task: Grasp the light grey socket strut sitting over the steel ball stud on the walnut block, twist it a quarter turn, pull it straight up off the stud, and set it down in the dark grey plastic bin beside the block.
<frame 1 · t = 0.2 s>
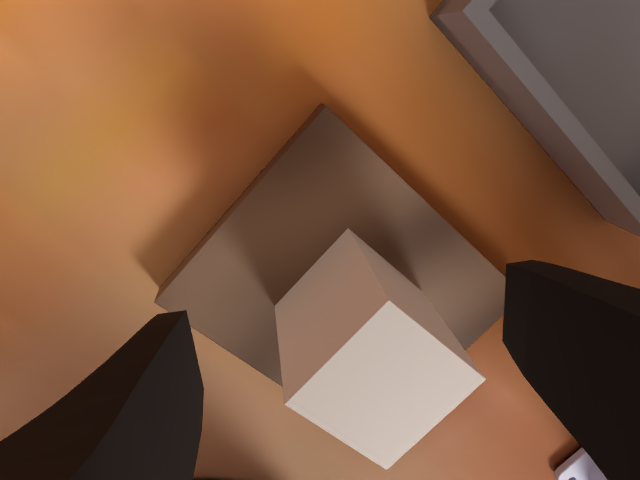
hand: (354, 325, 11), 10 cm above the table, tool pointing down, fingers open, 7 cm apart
socket strut: (349, 298, 20), point 1 cm above the table, touching stud block
stud block: (344, 285, 21), on the table
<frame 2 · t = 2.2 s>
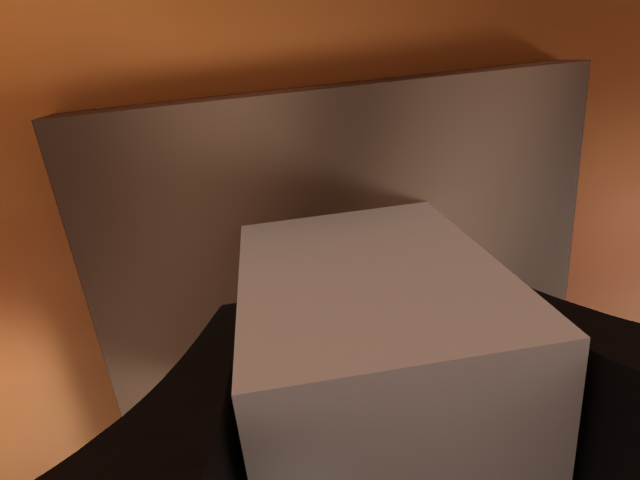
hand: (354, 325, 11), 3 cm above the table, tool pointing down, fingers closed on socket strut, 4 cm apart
socket strut: (343, 296, 12), point 1 cm above the table, touching gripper, stud block
stud block: (335, 276, 13), on the table
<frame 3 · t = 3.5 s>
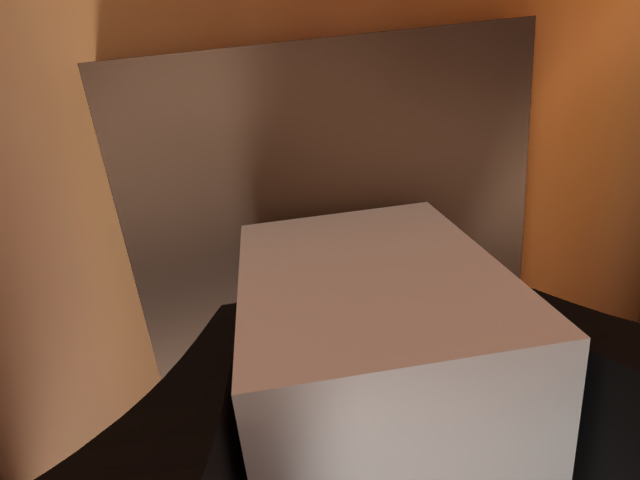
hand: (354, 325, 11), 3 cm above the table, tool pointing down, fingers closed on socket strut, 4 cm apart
socket strut: (342, 296, 12), point 2 cm above the table, touching gripper
stud block: (332, 267, 14), on the table
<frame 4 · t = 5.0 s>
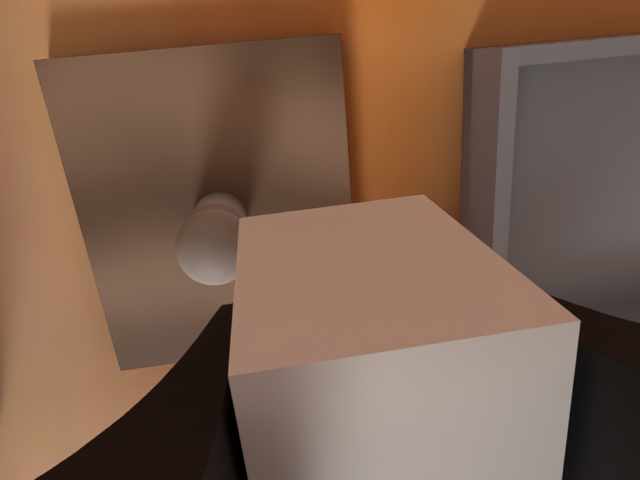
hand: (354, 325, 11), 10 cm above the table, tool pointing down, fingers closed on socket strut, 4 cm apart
bin: (595, 186, 21), on the table
socket strut: (340, 289, 12), point 8 cm above the table, touching gripper
stud block: (222, 208, 19), on the table
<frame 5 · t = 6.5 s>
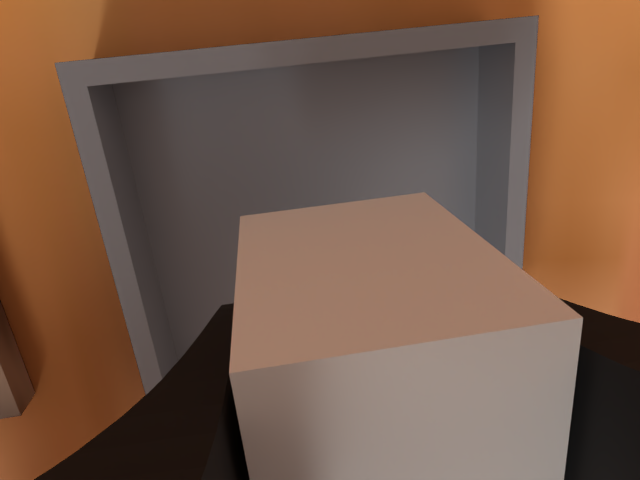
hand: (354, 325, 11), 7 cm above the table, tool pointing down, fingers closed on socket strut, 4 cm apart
bin: (315, 227, 17), on the table
socket strut: (341, 287, 12), point 5 cm above the table, touching gripper
when the fingers open (4 cm above the table, at t = 7.8 s): socket strut drops 2 cm, resting on bin.
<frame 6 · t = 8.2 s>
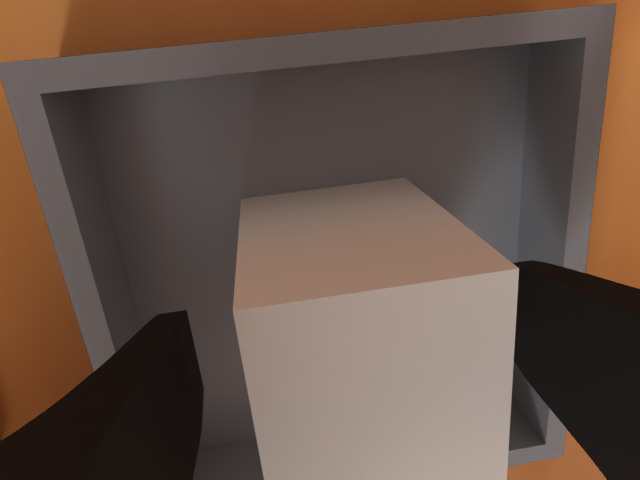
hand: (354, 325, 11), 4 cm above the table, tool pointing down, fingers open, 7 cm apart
bin: (328, 258, 14), on the table
socket strut: (331, 263, 14), point 1 cm above the table, touching bin
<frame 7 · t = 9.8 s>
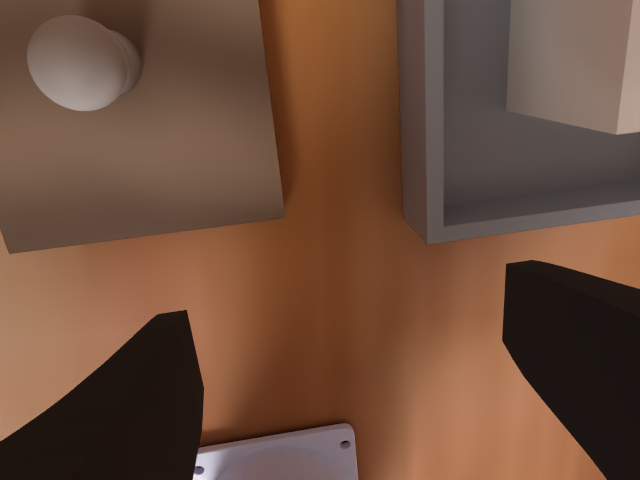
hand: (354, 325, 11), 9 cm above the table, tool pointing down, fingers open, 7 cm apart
bin: (553, 47, 19), on the table
socket strut: (566, 42, 18), point 1 cm above the table, touching bin
stud block: (119, 62, 17), on the table
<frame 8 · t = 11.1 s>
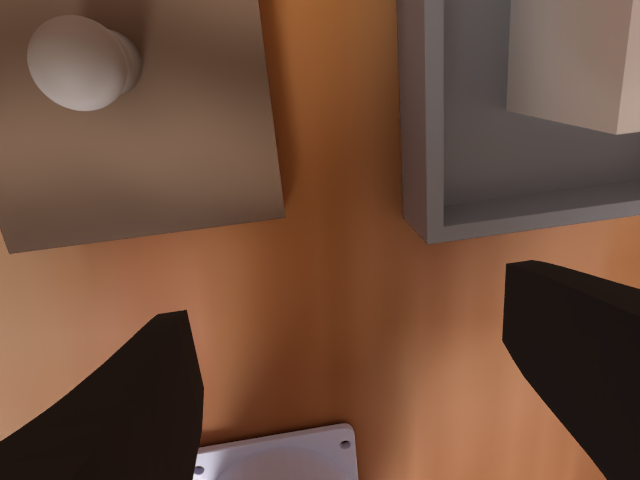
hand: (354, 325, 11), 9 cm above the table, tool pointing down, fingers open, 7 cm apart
bin: (553, 47, 19), on the table
socket strut: (566, 42, 18), point 1 cm above the table, touching bin
stud block: (119, 62, 17), on the table
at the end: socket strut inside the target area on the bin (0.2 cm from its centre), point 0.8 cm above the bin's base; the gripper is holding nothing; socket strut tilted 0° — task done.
